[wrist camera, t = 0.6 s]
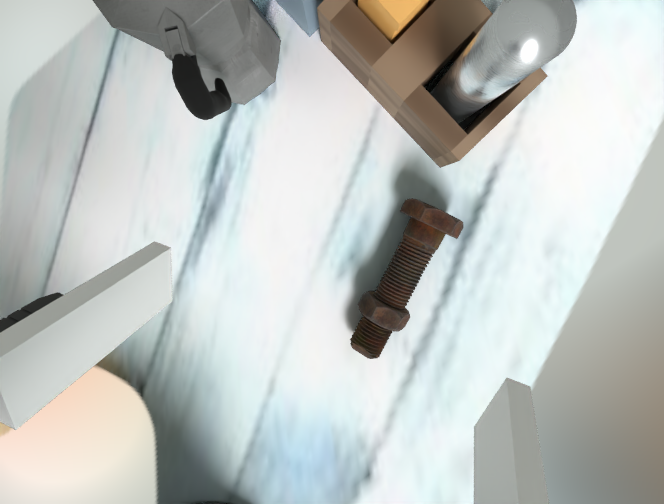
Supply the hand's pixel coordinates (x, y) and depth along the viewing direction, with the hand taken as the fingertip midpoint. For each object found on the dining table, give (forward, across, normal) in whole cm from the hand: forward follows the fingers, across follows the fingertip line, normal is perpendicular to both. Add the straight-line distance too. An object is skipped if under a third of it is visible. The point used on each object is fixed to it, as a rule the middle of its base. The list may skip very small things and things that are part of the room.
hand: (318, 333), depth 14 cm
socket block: (+29, +2, -8) cm, 30 cm away
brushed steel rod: (+29, -1, -6) cm, 29 cm away
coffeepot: (+24, +18, -4) cm, 31 cm away
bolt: (+22, -2, +10) cm, 24 cm away
